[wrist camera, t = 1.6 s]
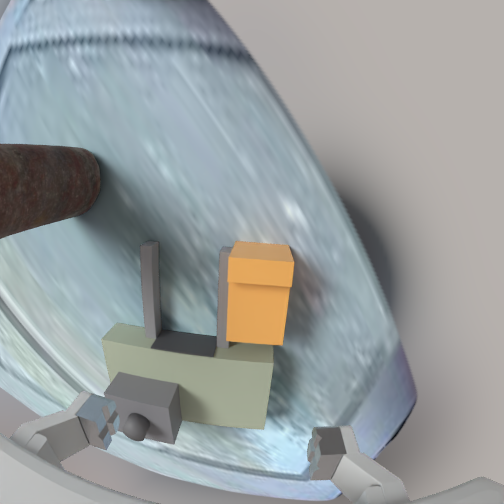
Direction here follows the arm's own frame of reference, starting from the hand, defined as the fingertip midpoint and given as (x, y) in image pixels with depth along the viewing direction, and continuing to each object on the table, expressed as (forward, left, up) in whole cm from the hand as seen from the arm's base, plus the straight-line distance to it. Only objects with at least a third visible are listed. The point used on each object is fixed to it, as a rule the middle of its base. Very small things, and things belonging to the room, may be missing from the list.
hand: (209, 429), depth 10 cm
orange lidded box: (+1, +2, -20) cm, 20 cm away
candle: (-9, -18, -20) cm, 28 cm away
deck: (+7, -5, -20) cm, 22 cm away
